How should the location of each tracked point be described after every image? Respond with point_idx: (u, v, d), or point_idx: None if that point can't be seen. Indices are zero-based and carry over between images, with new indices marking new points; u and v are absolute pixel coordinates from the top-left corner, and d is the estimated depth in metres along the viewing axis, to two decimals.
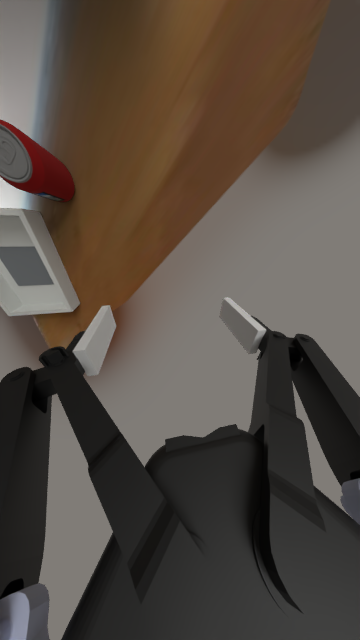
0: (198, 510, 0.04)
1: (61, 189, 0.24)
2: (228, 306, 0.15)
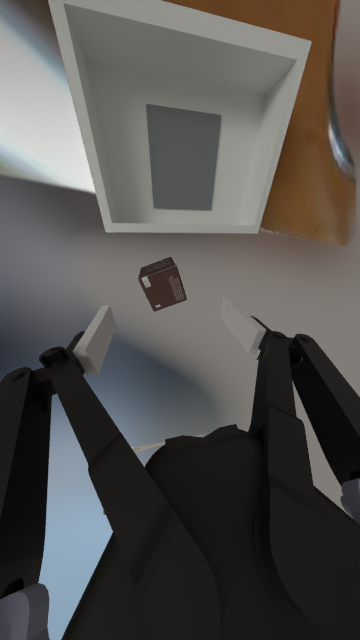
0: (198, 510, 0.04)
1: None
2: (228, 306, 0.15)
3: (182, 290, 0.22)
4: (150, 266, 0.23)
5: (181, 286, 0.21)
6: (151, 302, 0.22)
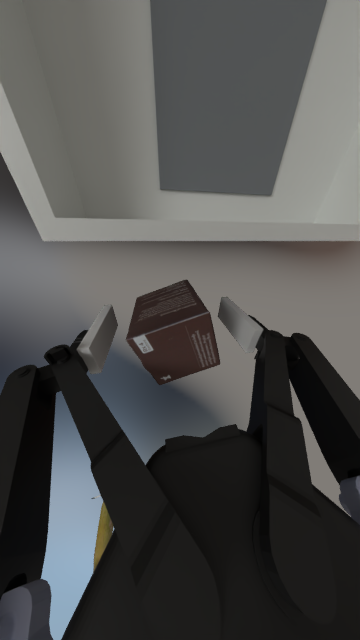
0: (198, 510, 0.04)
1: None
2: (226, 305, 0.15)
3: (215, 351, 0.11)
4: (152, 299, 0.13)
5: (214, 346, 0.11)
6: (154, 374, 0.11)
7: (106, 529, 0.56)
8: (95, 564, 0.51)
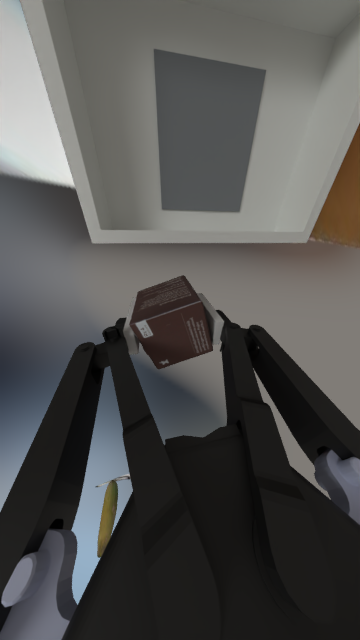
0: (197, 510, 0.04)
1: None
2: None
3: (208, 338, 0.12)
4: (152, 292, 0.14)
5: (207, 332, 0.12)
6: (153, 358, 0.12)
7: (110, 513, 0.60)
8: (99, 545, 0.54)
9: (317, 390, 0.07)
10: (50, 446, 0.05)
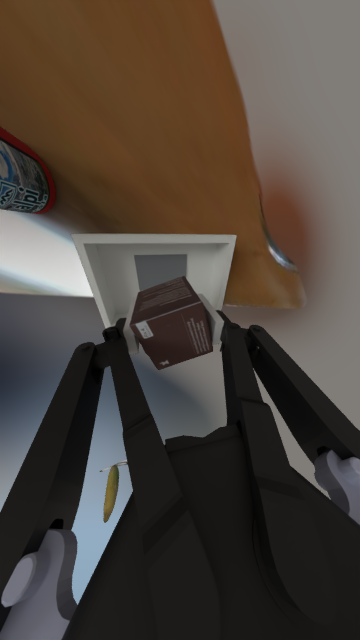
0: (197, 511, 0.04)
1: None
2: None
3: (208, 338, 0.12)
4: (152, 292, 0.14)
5: (207, 333, 0.12)
6: (153, 358, 0.12)
7: (112, 490, 0.74)
8: (105, 513, 0.69)
9: (317, 390, 0.07)
10: (50, 446, 0.05)
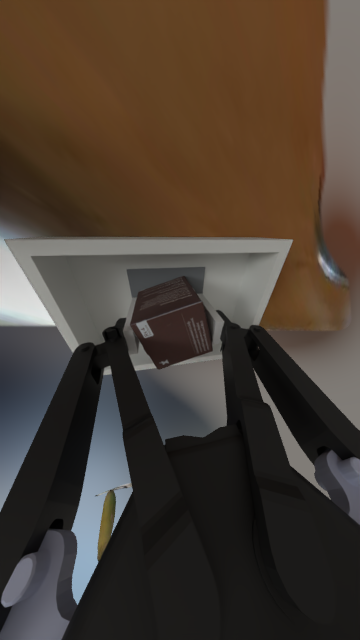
0: (198, 510, 0.04)
1: None
2: None
3: (208, 338, 0.12)
4: (152, 292, 0.14)
5: (207, 333, 0.12)
6: (153, 358, 0.12)
7: (108, 521, 0.66)
8: (99, 550, 0.61)
9: (317, 390, 0.07)
10: (50, 446, 0.05)
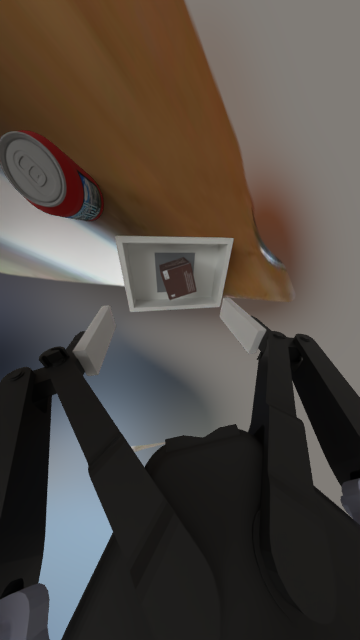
0: (198, 510, 0.04)
1: None
2: (228, 306, 0.15)
3: (193, 283, 0.27)
4: (167, 263, 0.29)
5: (193, 280, 0.26)
6: (168, 292, 0.27)
7: None
8: None
9: None
10: None
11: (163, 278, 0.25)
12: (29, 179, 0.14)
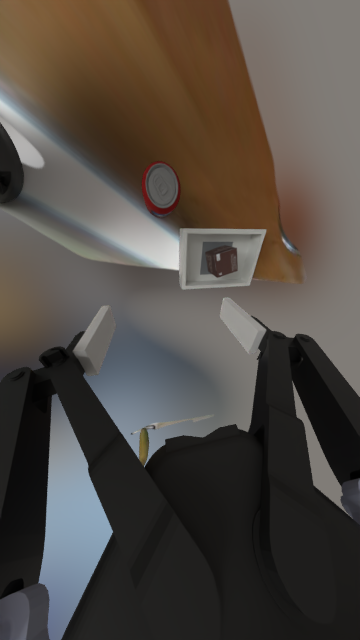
0: (197, 511, 0.04)
1: None
2: (228, 306, 0.15)
3: (236, 264, 0.35)
4: (214, 250, 0.37)
5: (236, 261, 0.35)
6: (217, 271, 0.35)
7: (145, 445, 0.89)
8: (141, 461, 0.84)
9: None
10: None
11: (215, 260, 0.34)
12: (158, 191, 0.23)
